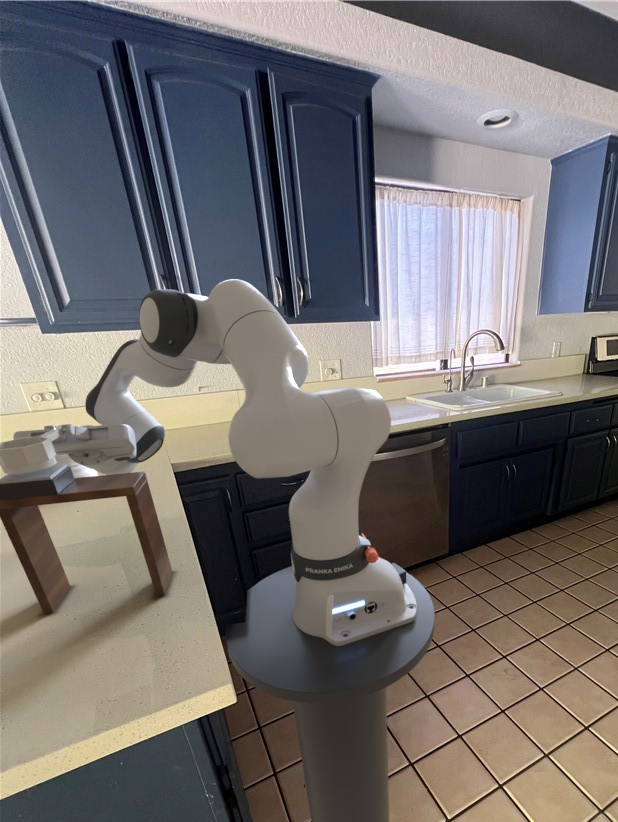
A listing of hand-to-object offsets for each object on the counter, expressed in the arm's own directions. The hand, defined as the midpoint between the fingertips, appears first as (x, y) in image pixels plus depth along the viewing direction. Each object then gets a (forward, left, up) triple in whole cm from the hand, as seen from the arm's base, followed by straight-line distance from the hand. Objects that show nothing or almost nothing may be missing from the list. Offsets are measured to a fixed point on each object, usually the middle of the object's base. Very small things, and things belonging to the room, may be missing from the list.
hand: (57, 429), depth 79 cm
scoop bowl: (0, +7, -3) cm, 7 cm away
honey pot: (+23, -52, -29) cm, 64 cm away
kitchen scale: (0, +13, -7) cm, 15 cm away
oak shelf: (-5, +12, -29) cm, 32 cm away
